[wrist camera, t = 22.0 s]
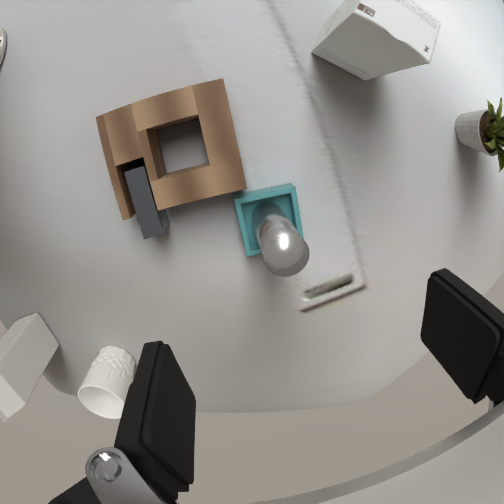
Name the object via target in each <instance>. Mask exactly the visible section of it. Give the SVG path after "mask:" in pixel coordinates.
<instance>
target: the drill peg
mask: <svg viewBox="0 0 504 504" xmlns="http://www.w3.org/2000/svg"><path fill="white" fill-rule="evenodd" d="M251 221H252V224H253V227H254V230H255V233H256V237H257V240H258V243H259V246H260V249H261V252H262V255H263V258H264V261H265V264H266V266H267V268H268V269H269V270H270V271H271V272H272V273H273V274H275V275H278V276H284V277H286V276H292V275H295V274H297V273H298V272H300V271H301V270H302V269H303V268H304V267H305V266H306V264H307V262H308V259H309V248H308V245H307V243H306V242H305V241H304V239H303V238H302V237H301V235H300V234H299V232H298V231H297V230H296V228H295V227H294V226H293V224H292V223H291V222H290V220H289V219H288V217H287V216H286V215H285V213H284V212H283V211H282V209H281V208H280V207H279V206H278V205H277V204H275V203H273V202H262V203H260V204H258V205H257V206H256V207H255V208H254V209H253V211H252V214H251Z"/></svg>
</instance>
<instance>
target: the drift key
mask: <svg viewBox="0 0 504 504" xmlns="http://www.w3.org/2000/svg"><path fill="white" fill-rule="evenodd" d="M124 173H125V177H126V181H127V184H128V188H129V191H130V195H131V198H132V202H133V205H134V208H135V212H136V215H137V218H138V221H139V224H140V228H141V231H142V234H143V237H144V239H147V238H151V237H155V236H158V235H162V234H164V232H165V231H166V229H167V227H168V225H169V222H168V218H167V215H166V212H165V209H162V210H158V209H157V205H156V202H155V198H154V195H153V191H152V188H151V184H150V180H149V177H148V173H147V169H146V165H143V166H140V167H137V168H134V169H131V170H129V171H126V172H124Z"/></svg>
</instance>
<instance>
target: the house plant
mask: <svg viewBox="0 0 504 504" xmlns="http://www.w3.org/2000/svg"><path fill="white" fill-rule="evenodd" d="M486 100H487V99H486ZM487 101H488V100H487ZM501 112H502V98H501V99H500V104H499V107H498V110H497V113H495V112H494V107H493V105H492V104H491V103H490V102H489V101H488V109H485V110H480V111H475V112H470V113H465V114H461V115H459V116H458V117H457V119H456V122H455V131H456V134H457V137H458V139H459V141H460V142H461V143H462V144H464V145H466V146H469V147H471V148H474V149H476V150H478V151H481V152H483V153H485V154H487V155H490V156H495V155H497V154H498V160H499V166H500V171H501V170H502V169H503V167H504V150H503V149H502V146H503V147H504V116H503V117H501ZM500 171H499V172H500Z"/></svg>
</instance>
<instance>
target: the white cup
mask: <svg viewBox="0 0 504 504" xmlns="http://www.w3.org/2000/svg"><path fill="white" fill-rule="evenodd" d="M134 371H135V361H134V359H133V358H132V356H131V355H130V354H129V353H128V352H127V351H125V350H124V349H122V348H119V347H117V346H106V347H104V348H102V349H101V350H100V352H99V353H98V355H97V357H96V359H95V360H94V361H93V363H92V365H91V366H90V368H89V370H88V372H87V374H86V376H85V378H84V380H83V382H82V384H81V386H80V388H79V390H78V397H79V400H80V401H81V403H82V404H83V405H84V406H85V407H86V408H87V409H88V410H90V411H91V412H93V413H94V414H96V415H99V416H101V417H104V418H109V419H119V418H121V415H122V411H123V407H124V403H125V400H126V396H127V392H128V388H129V386H130V384H131V383H132V382H133V375H134Z"/></svg>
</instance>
